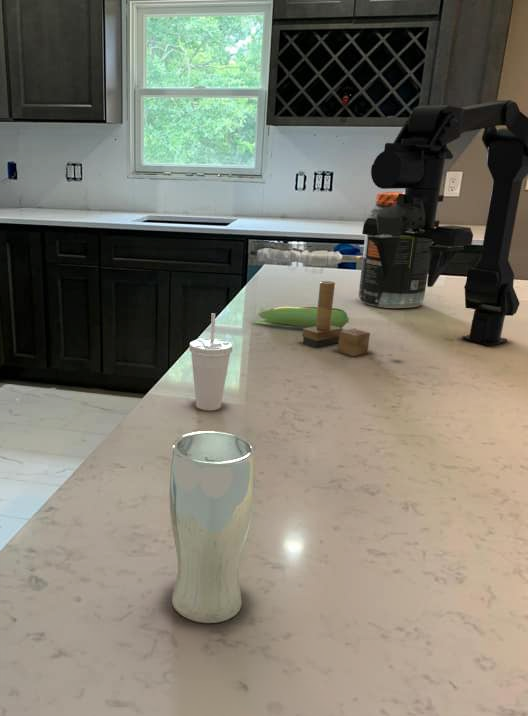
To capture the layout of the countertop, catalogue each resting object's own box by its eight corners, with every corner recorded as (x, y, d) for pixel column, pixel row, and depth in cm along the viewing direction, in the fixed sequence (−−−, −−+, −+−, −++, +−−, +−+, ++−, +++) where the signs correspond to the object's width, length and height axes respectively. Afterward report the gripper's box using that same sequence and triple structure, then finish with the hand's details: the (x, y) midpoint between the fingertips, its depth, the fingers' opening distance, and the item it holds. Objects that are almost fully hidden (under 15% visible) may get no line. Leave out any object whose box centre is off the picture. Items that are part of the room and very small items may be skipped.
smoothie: (234, 402, 112) (239, 312, 107) (223, 416, 107) (228, 321, 101) (194, 396, 114) (197, 308, 109) (181, 410, 109) (184, 317, 103)
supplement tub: (430, 301, 184) (447, 193, 173) (412, 313, 172) (430, 197, 161) (368, 294, 191) (382, 189, 181) (348, 304, 179) (361, 193, 169)
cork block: (351, 348, 142) (353, 328, 140) (367, 353, 139) (370, 332, 138) (337, 351, 140) (339, 331, 138) (353, 356, 137) (356, 335, 135)
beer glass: (164, 581, 67) (166, 430, 61) (238, 579, 68) (248, 429, 62) (170, 628, 61) (174, 465, 55) (253, 625, 61) (265, 463, 55)
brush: (325, 338, 149) (332, 279, 144) (340, 342, 146) (347, 282, 141) (301, 343, 145) (307, 282, 140) (316, 347, 142) (322, 285, 137)
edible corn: (346, 334, 152) (348, 313, 150) (251, 326, 157) (252, 305, 155) (347, 329, 156) (350, 307, 154) (255, 321, 161) (257, 300, 160)
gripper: (346, 185, 125) (336, 277, 131) (441, 193, 111) (424, 296, 117) (389, 184, 131) (376, 272, 137) (483, 191, 117) (465, 289, 123)
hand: (407, 282), depth 128 cm, fingers open, 9 cm apart
